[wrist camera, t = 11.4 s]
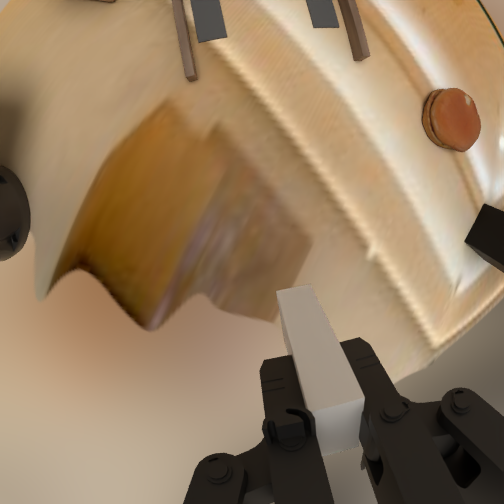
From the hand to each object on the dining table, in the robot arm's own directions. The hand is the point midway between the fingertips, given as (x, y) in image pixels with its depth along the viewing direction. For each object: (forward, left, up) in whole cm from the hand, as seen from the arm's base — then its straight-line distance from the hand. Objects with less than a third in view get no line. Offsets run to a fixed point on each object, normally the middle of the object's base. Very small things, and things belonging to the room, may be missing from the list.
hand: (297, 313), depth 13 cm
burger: (+30, +8, -27) cm, 41 cm away
